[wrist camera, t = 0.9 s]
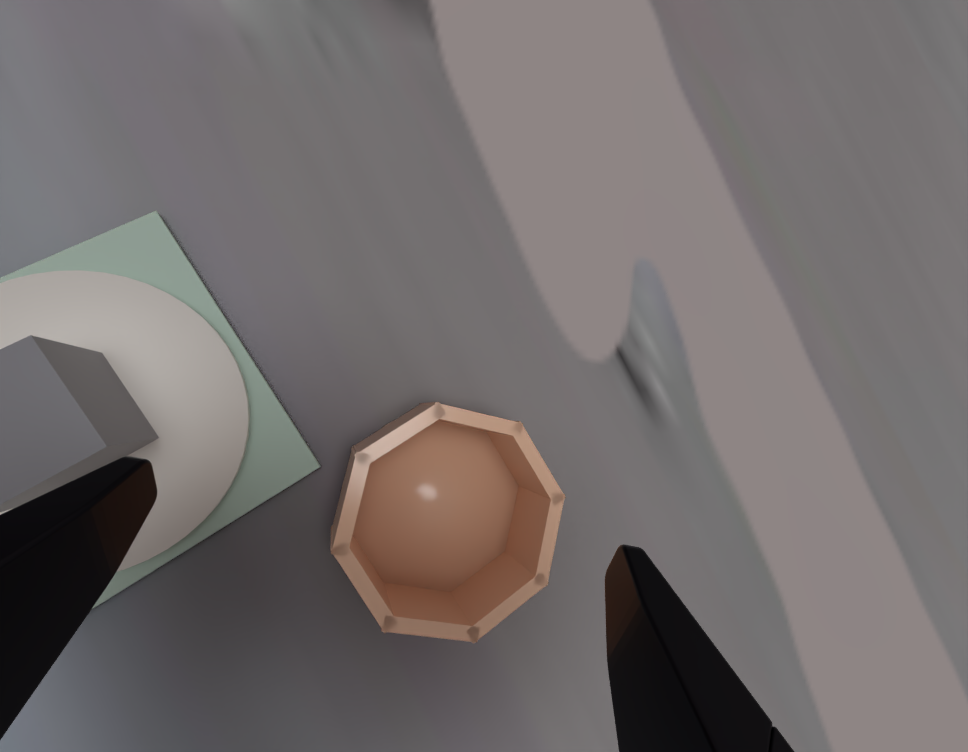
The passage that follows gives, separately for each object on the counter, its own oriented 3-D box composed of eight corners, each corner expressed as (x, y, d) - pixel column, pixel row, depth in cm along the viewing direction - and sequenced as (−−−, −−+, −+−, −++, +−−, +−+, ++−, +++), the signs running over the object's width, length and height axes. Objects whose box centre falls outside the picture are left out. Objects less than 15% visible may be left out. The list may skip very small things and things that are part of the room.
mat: (22, 651, 20) (13, 658, 20) (-188, 367, 19) (-204, 365, 18) (320, 465, 24) (320, 466, 23) (160, 215, 22) (156, 210, 22)
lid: (19, 639, 20) (-105, 729, 14) (-179, 370, 18) (-398, 353, 13) (304, 463, 23) (295, 481, 17) (151, 226, 22) (89, 164, 16)
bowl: (403, 638, 24) (418, 688, 20) (298, 477, 23) (291, 492, 19) (553, 524, 27) (596, 546, 22) (464, 374, 26) (490, 367, 22)
